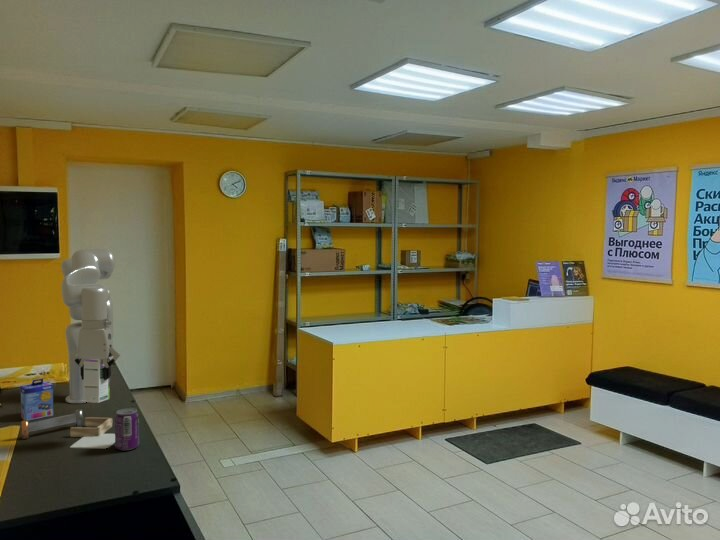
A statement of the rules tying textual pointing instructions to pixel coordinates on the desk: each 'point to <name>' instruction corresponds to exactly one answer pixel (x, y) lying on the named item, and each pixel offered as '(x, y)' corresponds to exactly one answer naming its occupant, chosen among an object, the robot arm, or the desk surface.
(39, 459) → the desk surface
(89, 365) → the syrup box
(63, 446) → the desk surface
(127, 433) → the beverage can
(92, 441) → the mat
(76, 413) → the lever
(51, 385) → the ink cartridge box
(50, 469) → the desk surface
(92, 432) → the cradle
